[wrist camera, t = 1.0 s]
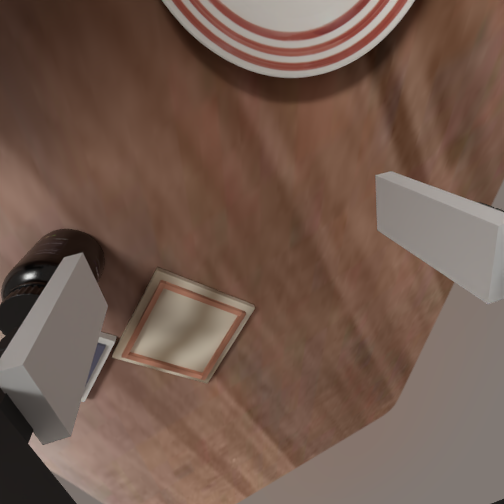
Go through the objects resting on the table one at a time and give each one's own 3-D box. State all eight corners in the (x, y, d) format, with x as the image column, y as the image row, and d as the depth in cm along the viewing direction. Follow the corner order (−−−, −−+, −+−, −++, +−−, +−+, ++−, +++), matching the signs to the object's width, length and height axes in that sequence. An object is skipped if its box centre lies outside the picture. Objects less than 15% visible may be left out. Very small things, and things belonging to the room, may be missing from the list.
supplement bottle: (117, 270, 39) (97, 337, 28) (59, 293, 38) (16, 370, 28) (84, 216, 36) (47, 268, 25) (21, 241, 35) (-45, 305, 25)
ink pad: (-1, 376, 41) (-6, 384, 40) (26, 309, 38) (22, 316, 37) (86, 395, 45) (83, 404, 43) (116, 336, 42) (115, 343, 41)
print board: (112, 352, 43) (110, 360, 42) (157, 266, 40) (156, 272, 38) (206, 379, 48) (207, 387, 46) (253, 304, 44) (256, 310, 43)
